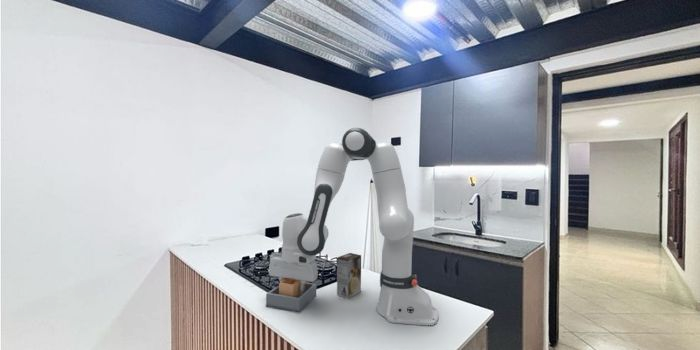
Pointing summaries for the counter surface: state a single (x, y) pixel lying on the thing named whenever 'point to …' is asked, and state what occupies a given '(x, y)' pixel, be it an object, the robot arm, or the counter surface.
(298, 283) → the orange crate
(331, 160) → the robot arm
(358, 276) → the coffee box
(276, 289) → the grey crate
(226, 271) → the counter surface
